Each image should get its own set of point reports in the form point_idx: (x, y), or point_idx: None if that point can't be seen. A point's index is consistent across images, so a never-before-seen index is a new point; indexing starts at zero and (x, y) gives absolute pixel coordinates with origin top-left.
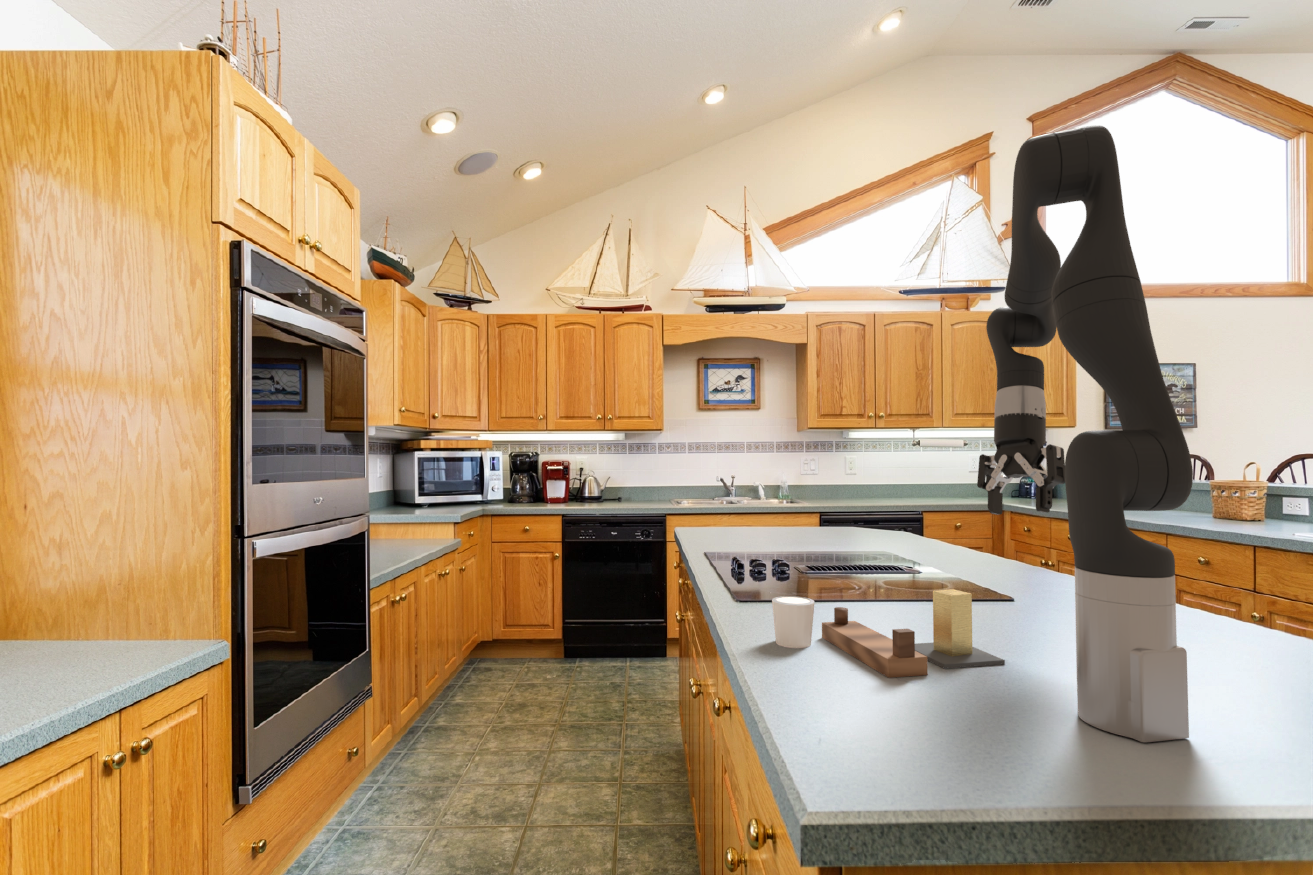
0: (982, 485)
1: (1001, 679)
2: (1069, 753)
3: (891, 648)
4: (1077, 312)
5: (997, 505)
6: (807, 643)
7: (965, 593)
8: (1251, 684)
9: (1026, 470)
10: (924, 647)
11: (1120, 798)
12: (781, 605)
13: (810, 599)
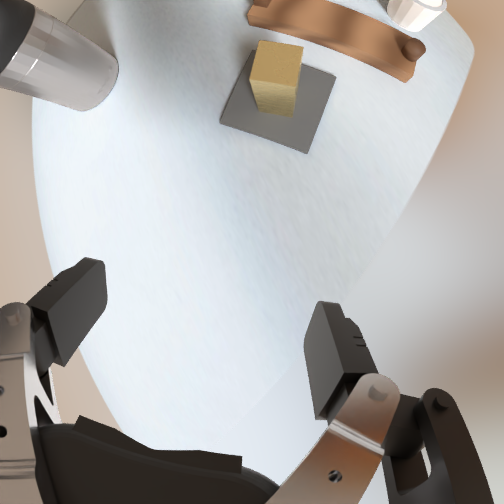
0: (424, 399)
1: (195, 75)
2: (107, 14)
3: (291, 8)
4: None
5: (316, 343)
6: (388, 11)
7: (257, 72)
8: None
9: (15, 384)
10: (311, 85)
11: (84, 6)
12: None
13: (420, 2)
